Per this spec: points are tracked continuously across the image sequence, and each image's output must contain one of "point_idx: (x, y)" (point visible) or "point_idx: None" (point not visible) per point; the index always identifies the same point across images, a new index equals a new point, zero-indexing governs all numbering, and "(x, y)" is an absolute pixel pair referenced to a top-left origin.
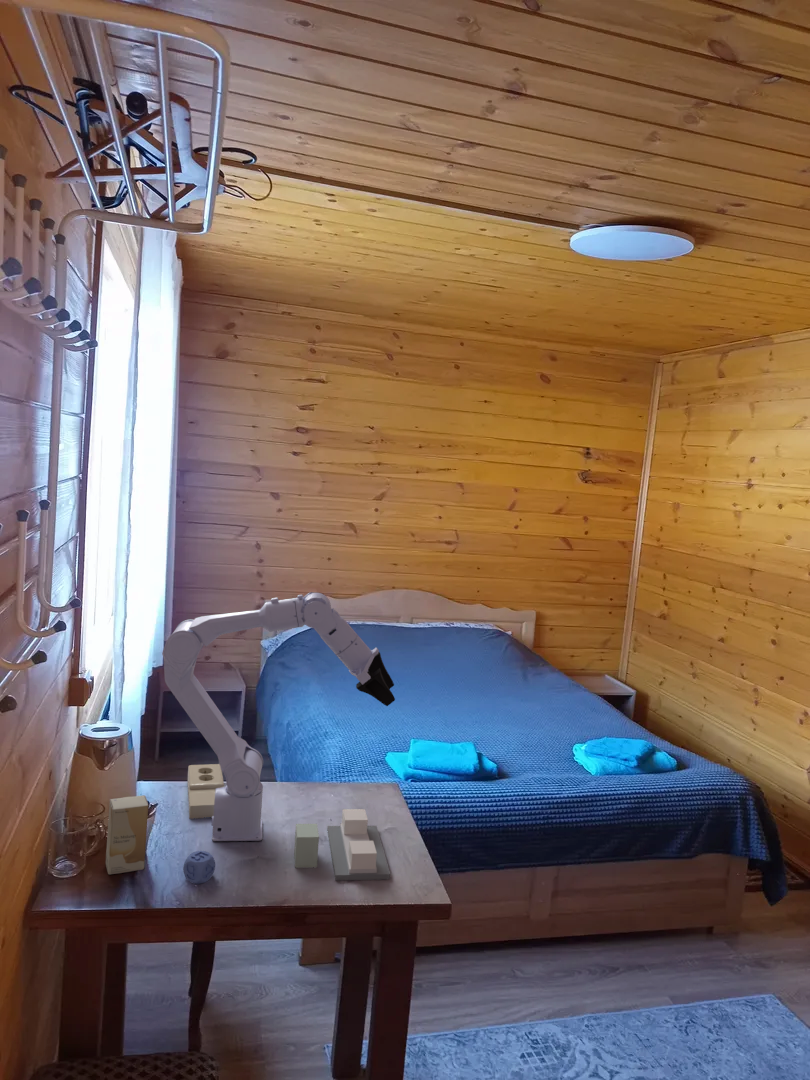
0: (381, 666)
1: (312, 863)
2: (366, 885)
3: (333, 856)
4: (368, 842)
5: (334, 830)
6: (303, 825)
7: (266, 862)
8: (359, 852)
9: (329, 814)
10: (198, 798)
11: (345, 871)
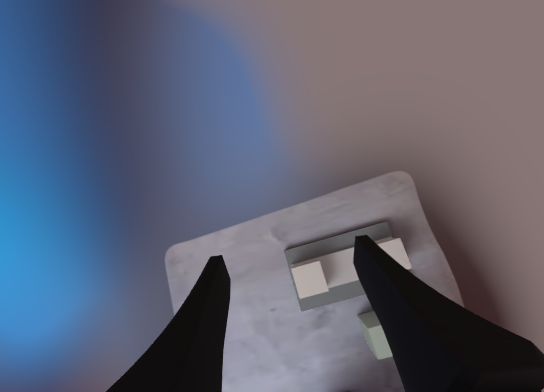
0: (196, 346)
1: None
2: (405, 244)
3: None
4: None
5: (310, 300)
6: (378, 347)
7: (396, 372)
8: (405, 259)
9: (260, 314)
10: None
11: None
